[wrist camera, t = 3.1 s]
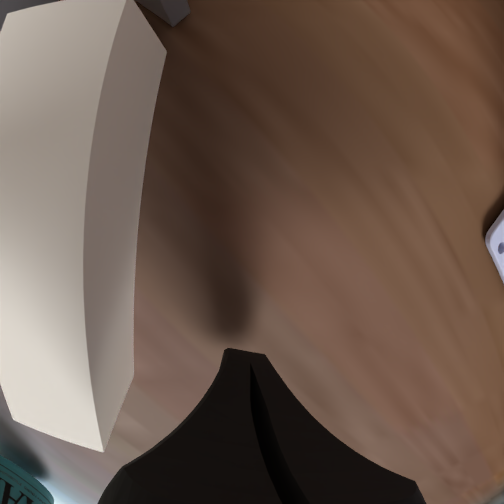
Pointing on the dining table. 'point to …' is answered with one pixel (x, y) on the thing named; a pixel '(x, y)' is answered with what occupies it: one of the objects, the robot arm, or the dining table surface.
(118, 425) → the dining table surface
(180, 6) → the end cap
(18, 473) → the beverage bottle
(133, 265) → the cream rectangular block
